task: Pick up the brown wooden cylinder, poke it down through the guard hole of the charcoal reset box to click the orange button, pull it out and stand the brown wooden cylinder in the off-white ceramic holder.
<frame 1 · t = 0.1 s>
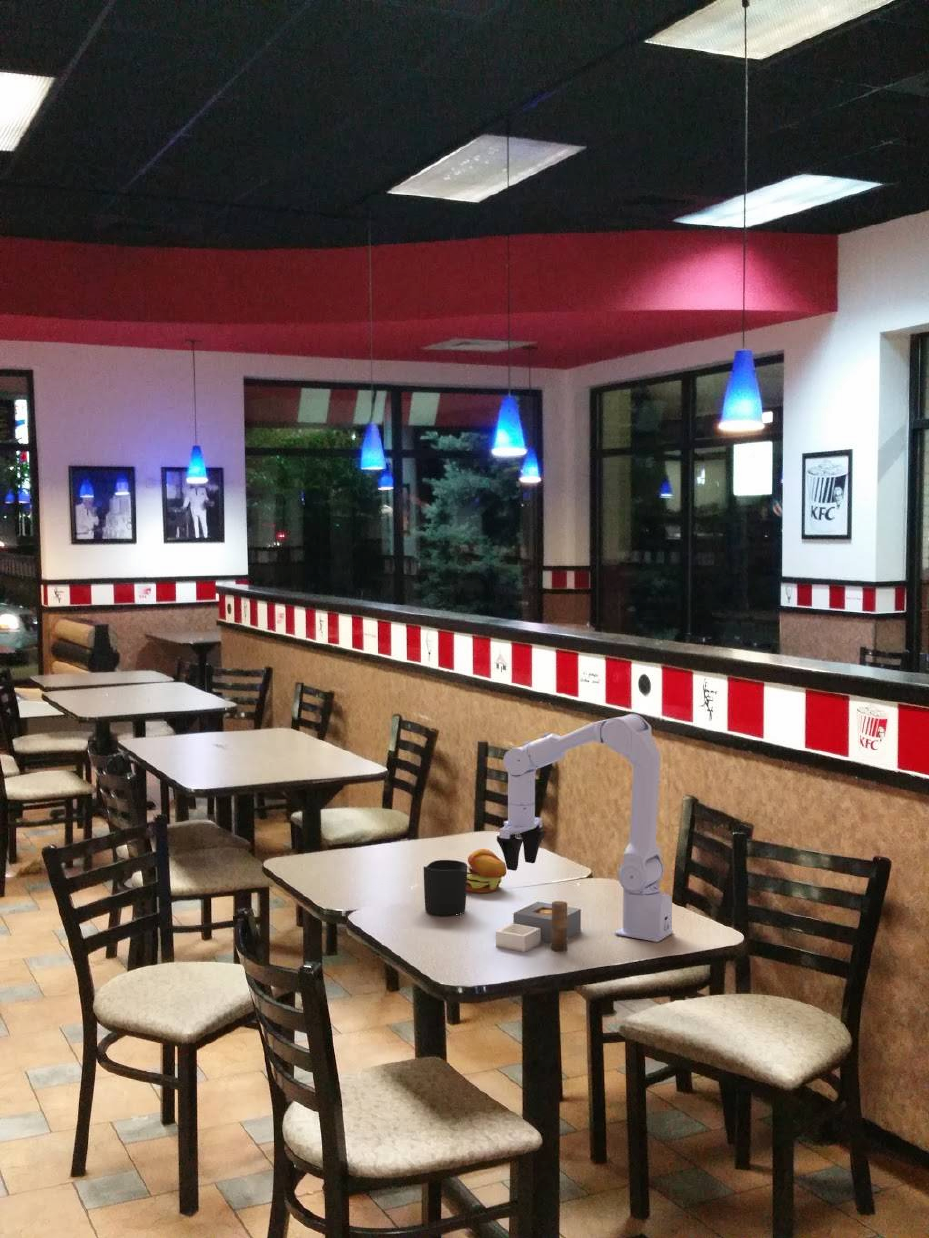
hand: (521, 866, 261), 10 cm above the table, fingers open, 7 cm apart
pen holder: (445, 912, 263), on the table
reset box: (547, 932, 247), on the table
brown wooden cylinder: (559, 949, 237), on the table
holder: (518, 944, 239), on the table
reset button: (547, 915, 247), point 4 cm above the table, slide at 0.0 cm
cheeseburger: (482, 889, 281), on the table
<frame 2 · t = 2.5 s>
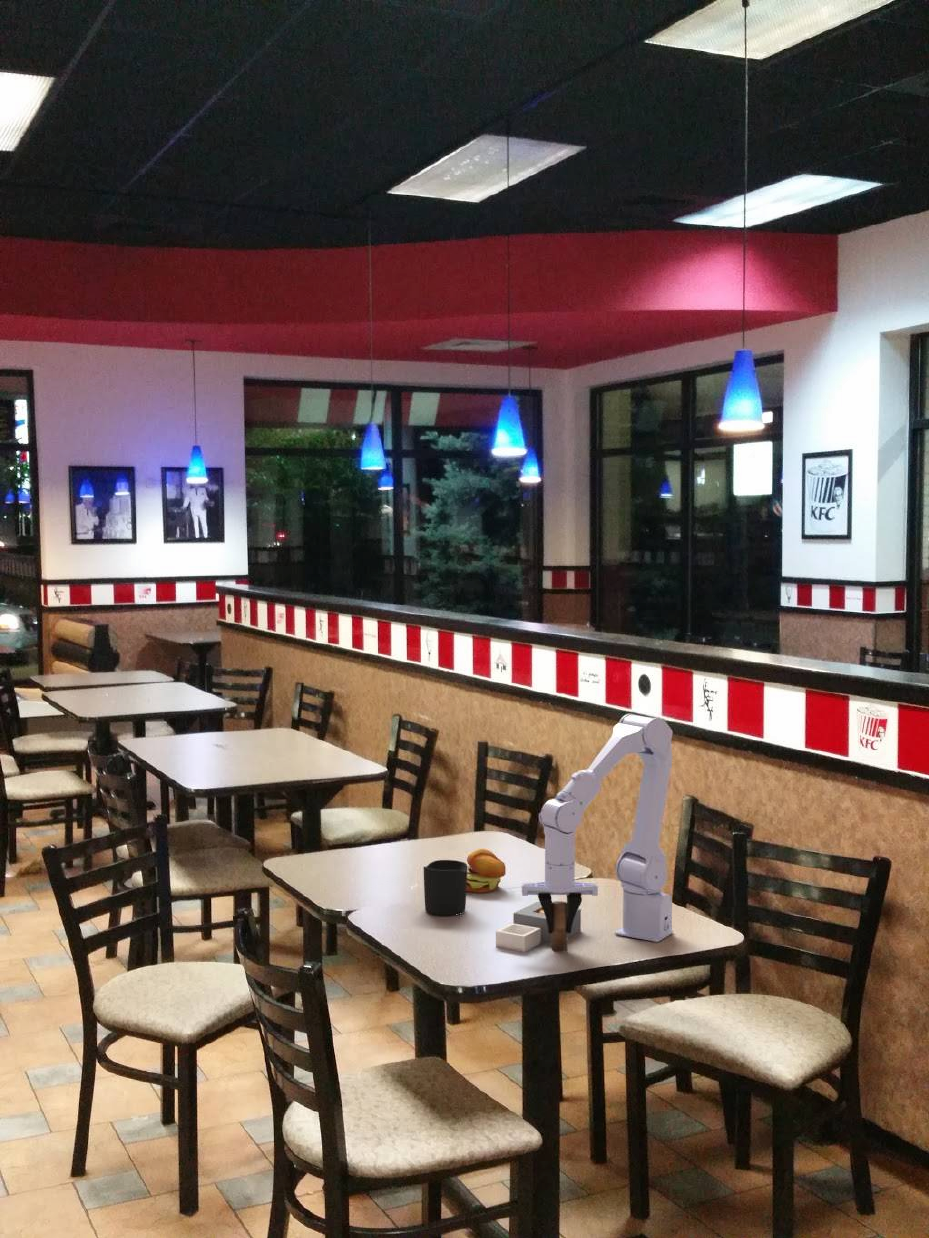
hand: (559, 931, 236), 3 cm above the table, fingers closed on brown wooden cylinder, 3 cm apart
brown wooden cylinder: (559, 949, 237), on the table, touching gripper
everything else where it was.
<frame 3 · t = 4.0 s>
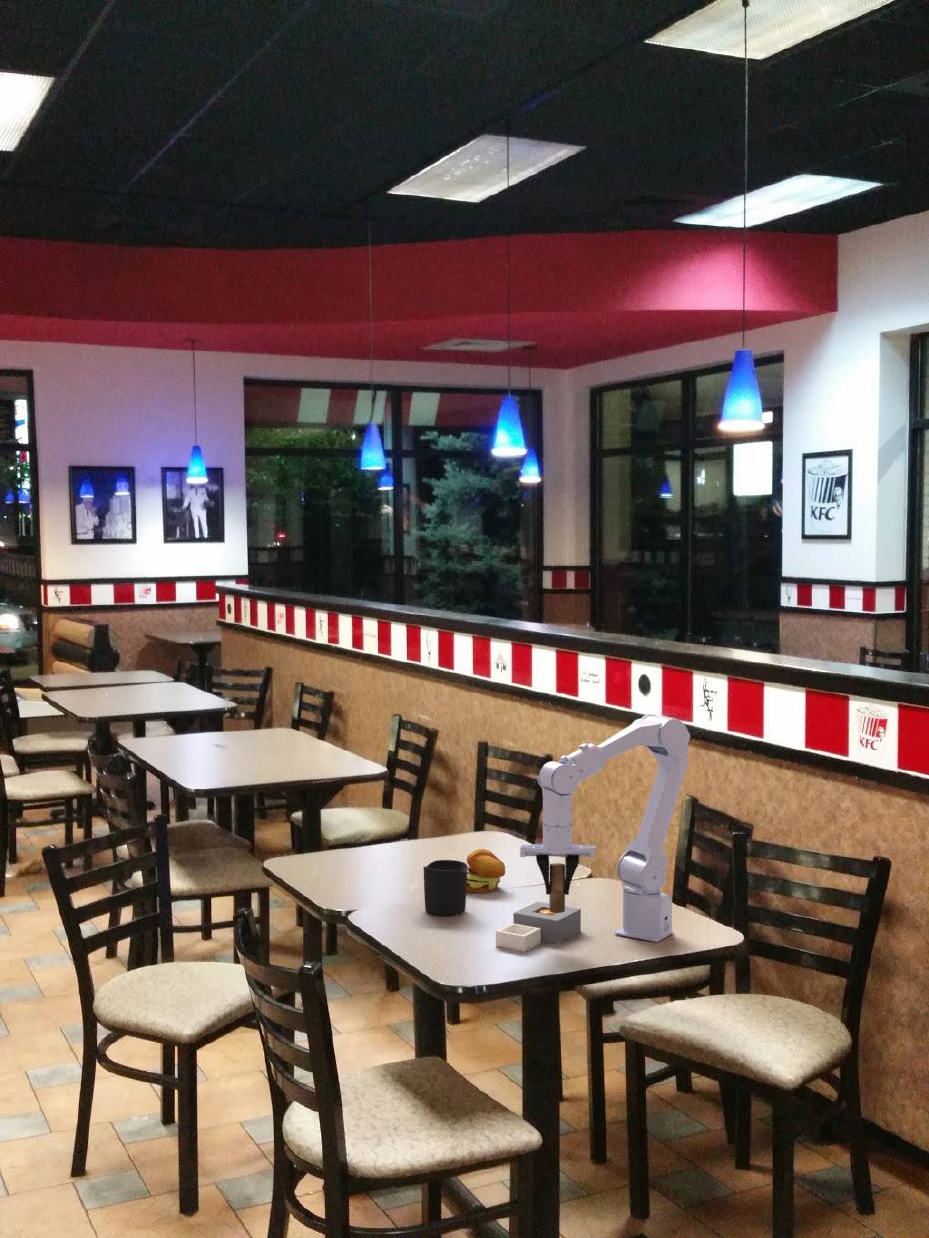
hand: (557, 893, 238), 10 cm above the table, fingers closed on brown wooden cylinder, 3 cm apart
brown wooden cylinder: (557, 910, 238), point 7 cm above the table, touching gripper
everything else where it was.
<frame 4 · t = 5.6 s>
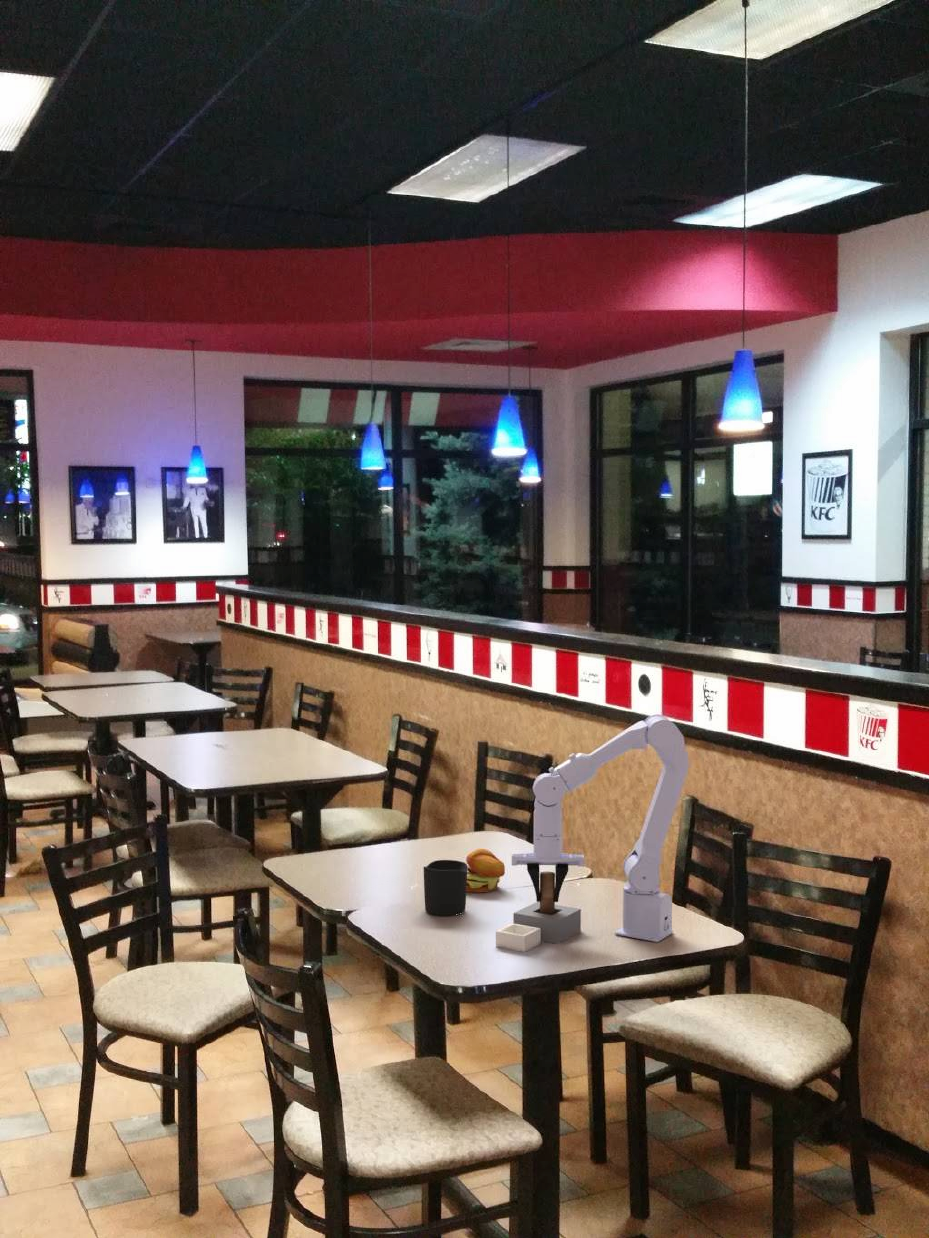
hand: (547, 900, 247), 7 cm above the table, fingers closed on brown wooden cylinder, 3 cm apart
brown wooden cylinder: (547, 917, 247), point 3 cm above the table, touching gripper, reset button
reset button: (547, 920, 247), point 2 cm above the table, slide at -1.1 cm, touching brown wooden cylinder
everything else where it was.
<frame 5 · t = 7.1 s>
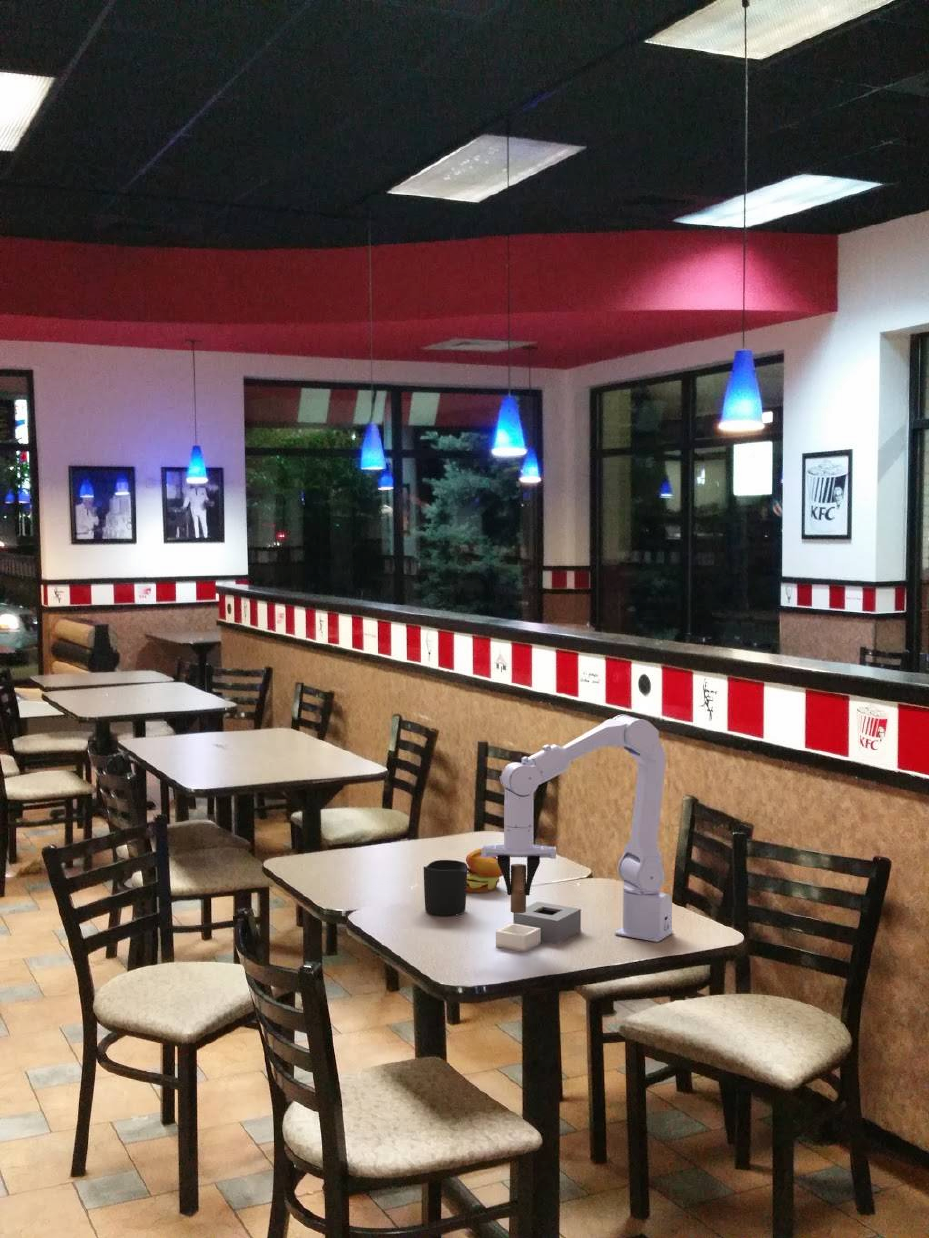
hand: (518, 893, 239), 10 cm above the table, fingers closed on brown wooden cylinder, 3 cm apart
brown wooden cylinder: (518, 911, 239), point 7 cm above the table, touching gripper
reset button: (547, 920, 247), point 2 cm above the table, slide at -1.1 cm
everything else where it was.
when the fingers open (5 cm above the table, at t = 8.3 s): brown wooden cylinder stays where it is, resting on holder.
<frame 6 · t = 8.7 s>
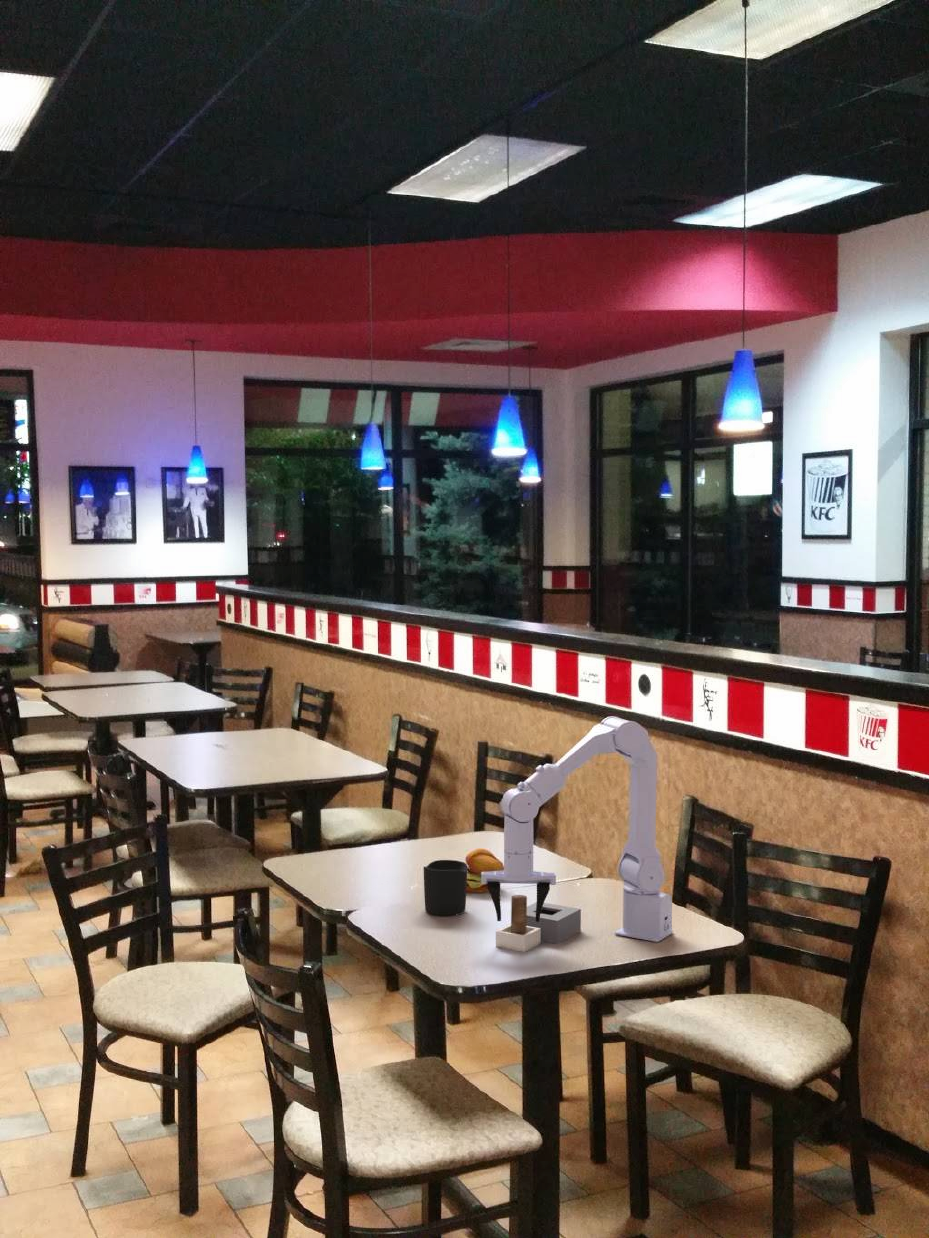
hand: (518, 920, 239), 5 cm above the table, fingers open, 7 cm apart
brown wooden cylinder: (518, 942, 239), point 1 cm above the table, touching holder
everything else where it was.
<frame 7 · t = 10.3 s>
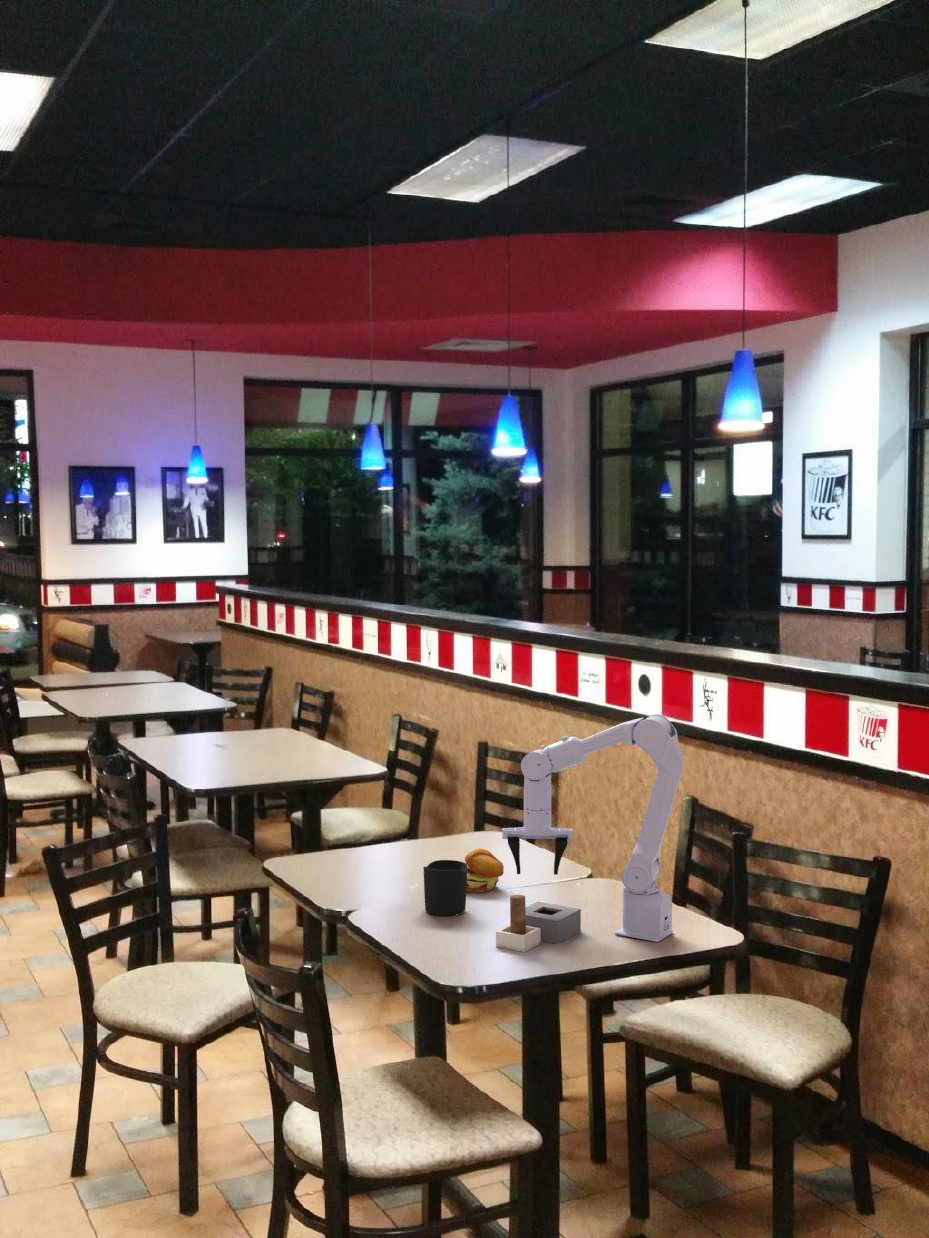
hand: (537, 873, 254), 10 cm above the table, fingers open, 7 cm apart
nothing on the table moved.
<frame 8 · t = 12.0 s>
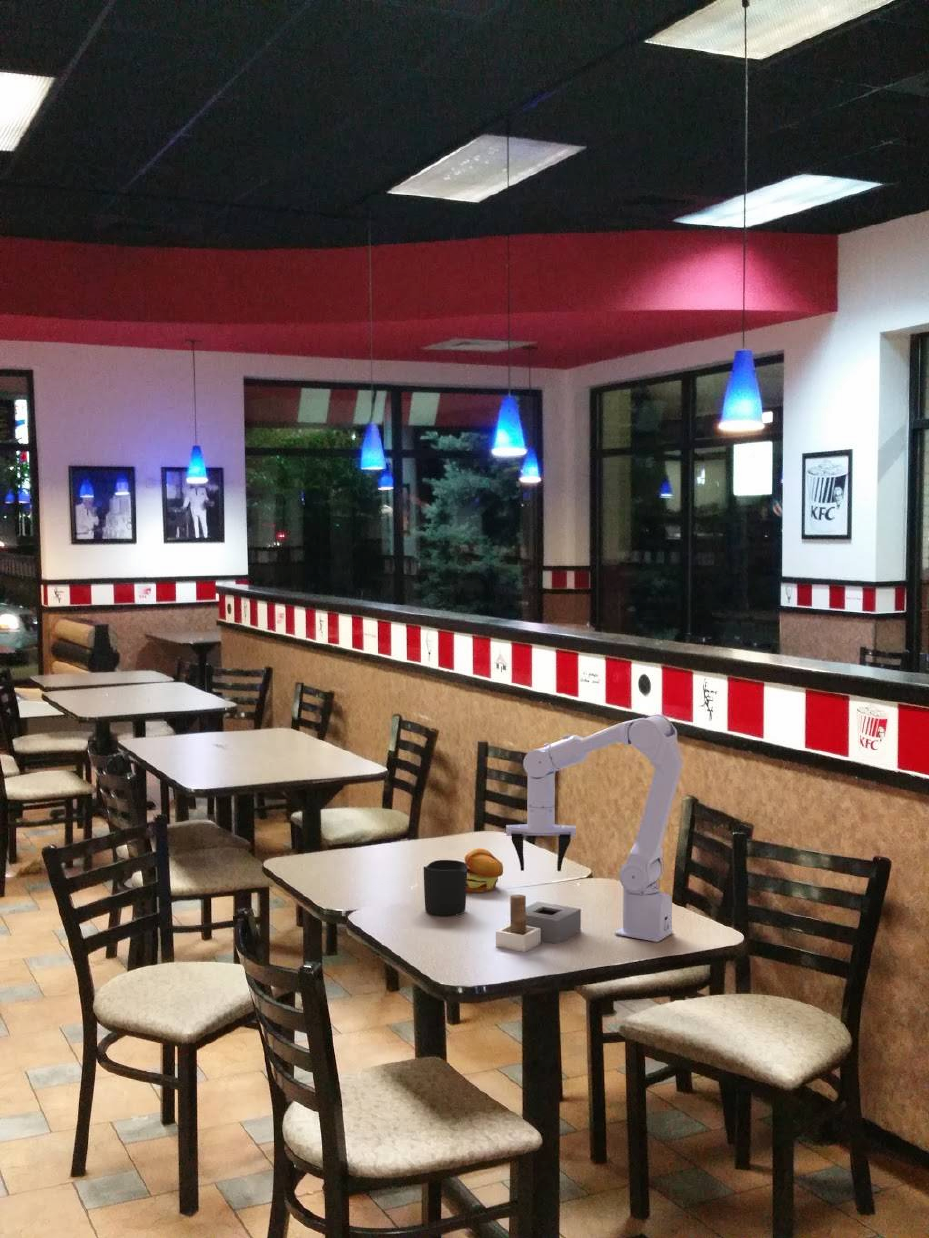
hand: (540, 869, 257), 10 cm above the table, fingers open, 7 cm apart
nothing on the table moved.
at the end: reset button slide at -1.1 cm; brown wooden cylinder 0.0 cm off-centre on the holder, point 0.5 cm above the holder's base; brown wooden cylinder tilted 1° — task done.
